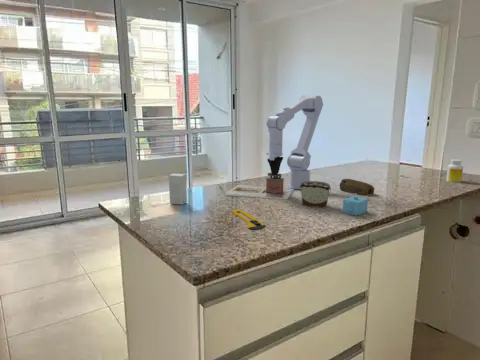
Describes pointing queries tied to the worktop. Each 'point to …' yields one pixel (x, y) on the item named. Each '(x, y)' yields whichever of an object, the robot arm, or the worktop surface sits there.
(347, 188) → the brown cylinder
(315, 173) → the worktop surface
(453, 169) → the supplement bottle
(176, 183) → the skincare box
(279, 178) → the lighter
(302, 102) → the robot arm
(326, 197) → the food container
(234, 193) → the rail plate
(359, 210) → the blue lidded box
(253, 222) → the utility knife
